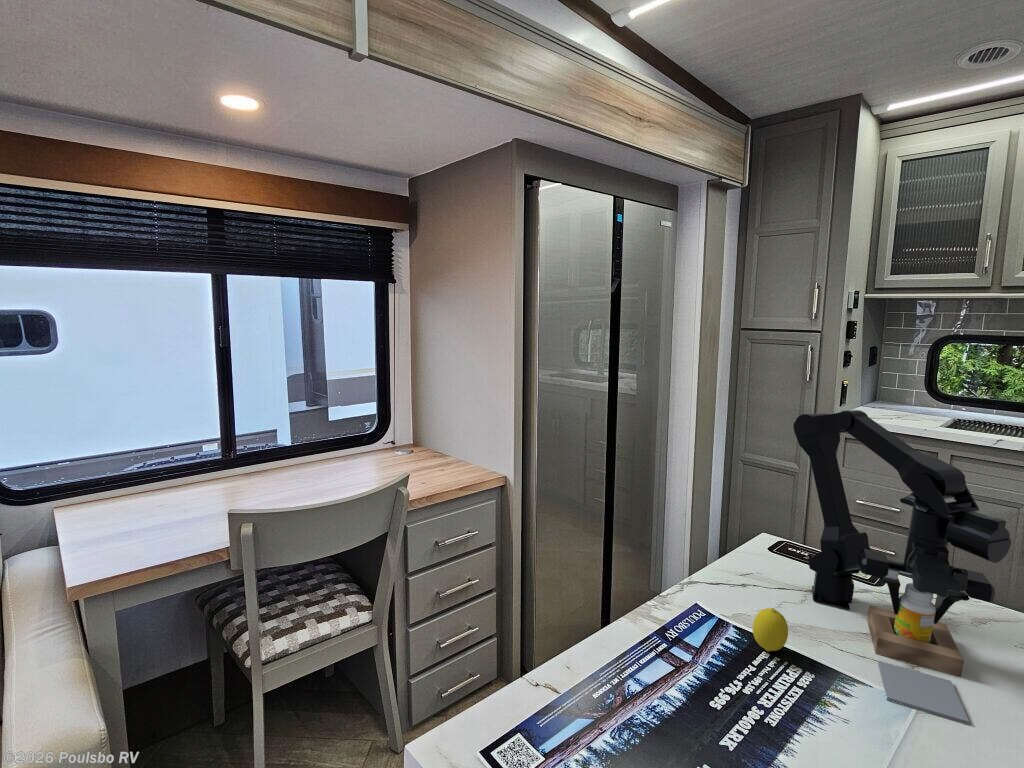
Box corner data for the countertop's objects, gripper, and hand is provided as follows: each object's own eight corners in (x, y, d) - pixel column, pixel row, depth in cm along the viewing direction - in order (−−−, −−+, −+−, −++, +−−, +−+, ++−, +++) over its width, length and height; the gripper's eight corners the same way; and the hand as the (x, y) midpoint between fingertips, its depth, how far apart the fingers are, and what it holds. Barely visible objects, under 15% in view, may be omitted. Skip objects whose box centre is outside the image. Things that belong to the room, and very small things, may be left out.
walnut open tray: (875, 653, 96) (877, 637, 96) (866, 619, 107) (869, 605, 106) (960, 676, 91) (963, 660, 90) (942, 638, 101) (945, 623, 101)
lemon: (782, 645, 97) (788, 604, 96) (787, 664, 92) (792, 620, 91) (749, 638, 99) (754, 597, 98) (751, 656, 94) (756, 613, 93)
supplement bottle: (885, 629, 101) (893, 580, 99) (912, 629, 101) (921, 580, 100) (909, 648, 95) (918, 597, 94) (937, 647, 96) (946, 596, 94)
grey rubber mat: (887, 700, 84) (887, 697, 84) (877, 663, 93) (878, 660, 93) (968, 724, 80) (969, 721, 80) (950, 683, 89) (951, 680, 89)
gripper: (871, 540, 92) (858, 625, 95) (1014, 568, 84) (996, 660, 86) (863, 518, 102) (852, 595, 105) (991, 541, 94) (975, 624, 96)
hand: (914, 617), depth 98 cm, fingers closed on supplement bottle, 5 cm apart
